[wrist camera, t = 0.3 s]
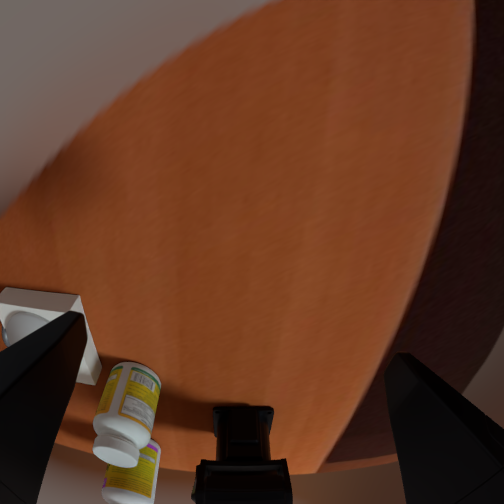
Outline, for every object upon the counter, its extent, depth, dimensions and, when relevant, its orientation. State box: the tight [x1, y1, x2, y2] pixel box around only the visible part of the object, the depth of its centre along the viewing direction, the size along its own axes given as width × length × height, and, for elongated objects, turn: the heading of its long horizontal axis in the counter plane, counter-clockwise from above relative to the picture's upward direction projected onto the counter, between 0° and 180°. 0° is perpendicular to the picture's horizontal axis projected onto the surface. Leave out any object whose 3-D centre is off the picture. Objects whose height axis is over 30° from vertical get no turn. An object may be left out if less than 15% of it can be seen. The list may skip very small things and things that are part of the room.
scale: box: [0, 287, 102, 385], centre depth 25 cm, size 9×10×4 cm
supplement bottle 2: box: [102, 439, 161, 504], centre depth 30 cm, size 7×7×13 cm
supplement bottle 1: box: [93, 362, 161, 468], centre depth 25 cm, size 5×5×10 cm
